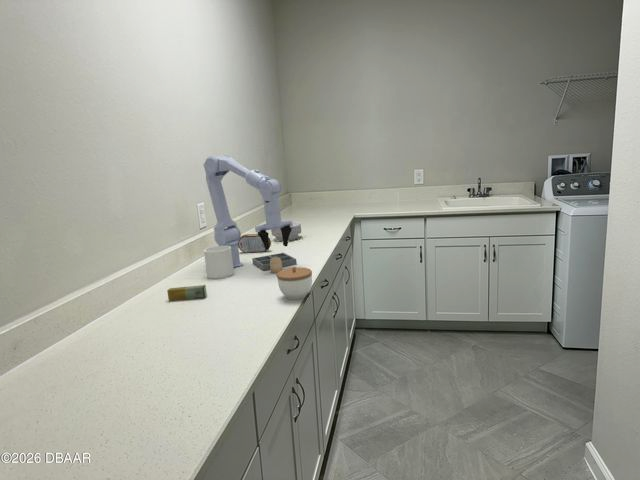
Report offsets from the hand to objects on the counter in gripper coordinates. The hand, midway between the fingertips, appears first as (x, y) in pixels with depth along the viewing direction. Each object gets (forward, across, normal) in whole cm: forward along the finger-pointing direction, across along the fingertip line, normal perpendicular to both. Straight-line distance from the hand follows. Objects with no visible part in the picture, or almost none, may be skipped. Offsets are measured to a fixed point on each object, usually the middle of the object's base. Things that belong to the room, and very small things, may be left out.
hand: (276, 247), depth 161 cm
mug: (+9, -18, +11) cm, 23 cm away
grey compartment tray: (+9, +2, +9) cm, 13 cm away
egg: (+9, -2, -2) cm, 9 cm away
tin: (+9, +5, +35) cm, 36 cm away
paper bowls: (+9, +28, +49) cm, 57 cm away
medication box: (+9, -37, -9) cm, 39 cm away
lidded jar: (+9, -9, -32) cm, 34 cm away
